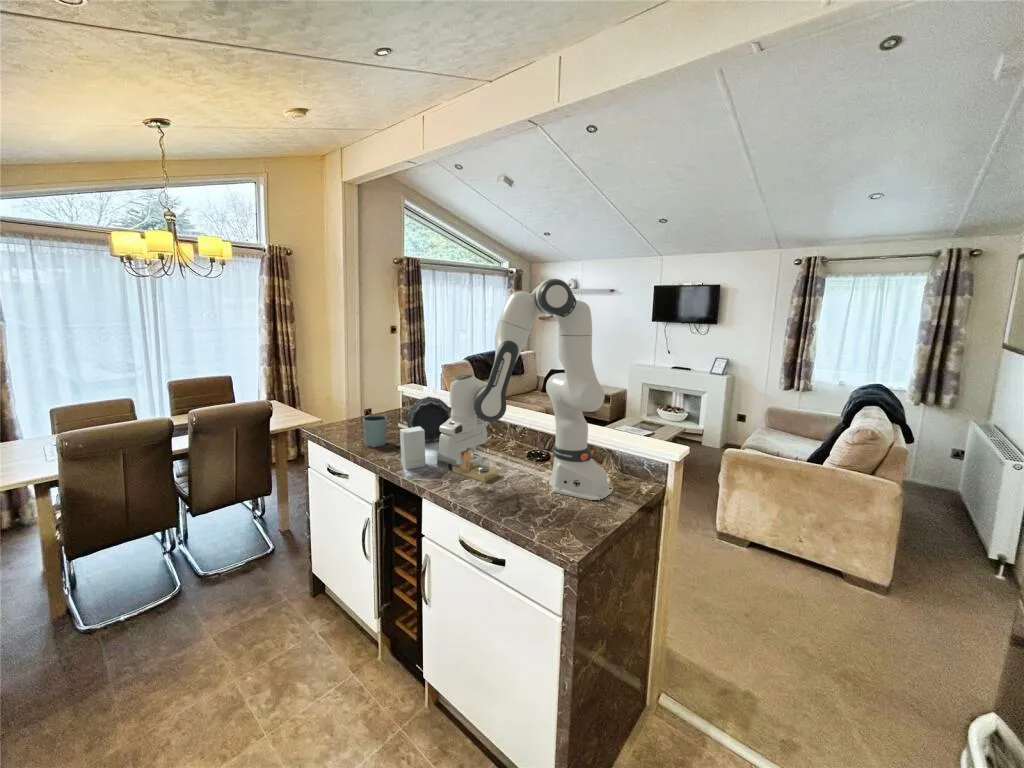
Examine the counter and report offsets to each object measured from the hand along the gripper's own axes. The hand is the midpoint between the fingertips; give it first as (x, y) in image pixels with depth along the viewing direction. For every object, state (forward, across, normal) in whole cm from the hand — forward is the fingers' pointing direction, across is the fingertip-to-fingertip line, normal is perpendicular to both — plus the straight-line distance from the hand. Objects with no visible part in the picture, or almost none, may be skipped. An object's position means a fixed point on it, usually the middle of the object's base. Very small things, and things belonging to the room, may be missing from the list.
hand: (465, 461), depth 151 cm
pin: (+4, 0, 0) cm, 4 cm away
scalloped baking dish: (+9, -25, -47) cm, 54 cm away
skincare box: (+8, 0, -28) cm, 29 cm away
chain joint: (+9, -10, -9) cm, 16 cm away
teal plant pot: (+8, -6, -61) cm, 61 cm away
